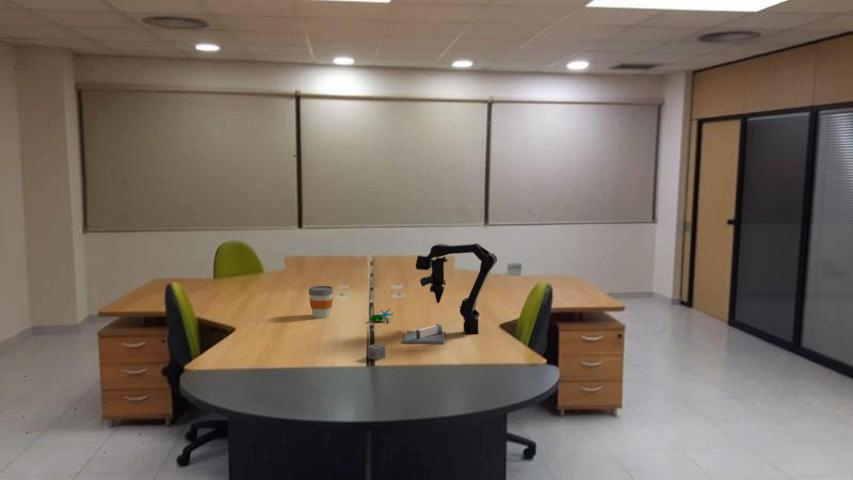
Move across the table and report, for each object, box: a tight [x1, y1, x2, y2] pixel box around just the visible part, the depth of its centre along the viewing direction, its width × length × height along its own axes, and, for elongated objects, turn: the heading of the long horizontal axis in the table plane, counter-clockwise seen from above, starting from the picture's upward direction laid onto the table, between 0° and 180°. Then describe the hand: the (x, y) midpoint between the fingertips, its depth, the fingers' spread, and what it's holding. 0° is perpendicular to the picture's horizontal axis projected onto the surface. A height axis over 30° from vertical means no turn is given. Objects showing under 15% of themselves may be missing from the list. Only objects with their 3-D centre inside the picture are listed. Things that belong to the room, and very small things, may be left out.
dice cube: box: [367, 343, 386, 361], centre depth 261 cm, size 5×5×5 cm
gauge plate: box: [402, 330, 447, 345], centre depth 289 cm, size 18×16×1 cm
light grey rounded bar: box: [415, 323, 443, 339], centre depth 289 cm, size 16×3×4 cm, turn 134°
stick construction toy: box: [369, 308, 394, 324], centre depth 319 cm, size 12×7×8 cm
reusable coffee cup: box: [308, 285, 334, 319], centre depth 332 cm, size 13×13×15 cm
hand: (438, 303), depth 303 cm, fingers closed
